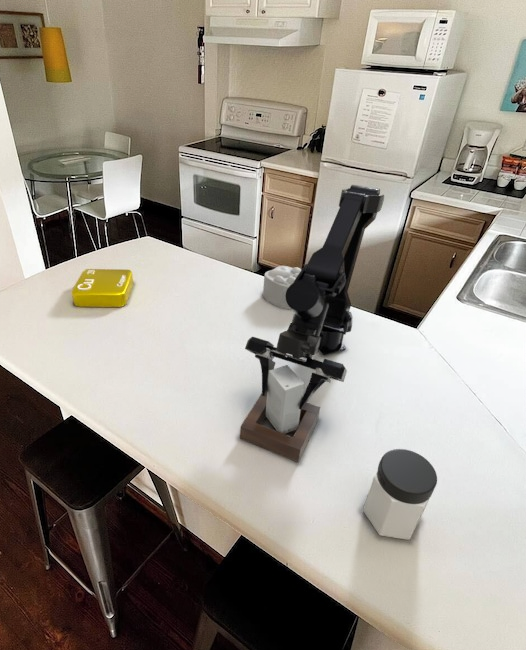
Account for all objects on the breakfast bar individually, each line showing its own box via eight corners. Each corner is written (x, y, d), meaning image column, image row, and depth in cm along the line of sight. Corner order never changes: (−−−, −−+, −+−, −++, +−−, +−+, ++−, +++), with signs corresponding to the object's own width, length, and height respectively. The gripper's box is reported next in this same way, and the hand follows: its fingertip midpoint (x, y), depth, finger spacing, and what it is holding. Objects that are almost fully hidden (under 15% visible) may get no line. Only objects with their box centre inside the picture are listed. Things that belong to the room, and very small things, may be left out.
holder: (264, 399, 95) (265, 387, 93) (318, 419, 90) (320, 407, 88) (239, 438, 86) (240, 426, 84) (298, 462, 82) (300, 450, 80)
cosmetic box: (298, 429, 86) (305, 384, 79) (279, 436, 84) (285, 391, 77) (282, 408, 90) (287, 363, 83) (264, 414, 89) (267, 370, 82)
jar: (378, 483, 78) (394, 438, 71) (425, 511, 74) (446, 465, 67) (355, 520, 72) (369, 474, 66) (404, 552, 68) (424, 506, 61)
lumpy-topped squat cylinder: (282, 284, 136) (284, 258, 131) (315, 301, 128) (319, 274, 123) (258, 296, 130) (259, 270, 125) (292, 314, 122) (295, 287, 117)
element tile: (125, 307, 124) (123, 293, 122) (72, 307, 124) (68, 292, 122) (134, 281, 137) (133, 267, 134) (86, 280, 137) (83, 267, 134)
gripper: (250, 301, 80) (222, 383, 79) (353, 328, 73) (324, 419, 72) (265, 315, 90) (241, 387, 89) (356, 340, 83) (331, 420, 82)
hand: (281, 402), depth 83 cm, fingers closed on cosmetic box, 7 cm apart
